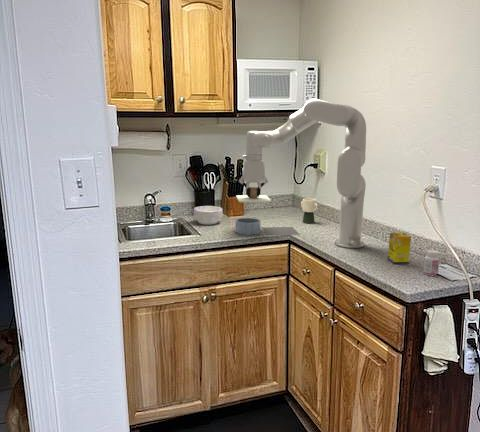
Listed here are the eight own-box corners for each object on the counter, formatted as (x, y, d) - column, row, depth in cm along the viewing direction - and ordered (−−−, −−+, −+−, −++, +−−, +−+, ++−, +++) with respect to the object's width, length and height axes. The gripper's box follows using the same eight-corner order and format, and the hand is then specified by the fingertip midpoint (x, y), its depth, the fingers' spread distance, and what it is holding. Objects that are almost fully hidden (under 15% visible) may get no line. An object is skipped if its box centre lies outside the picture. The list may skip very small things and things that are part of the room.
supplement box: (387, 259, 177) (389, 232, 174) (402, 259, 177) (404, 232, 175) (393, 264, 171) (395, 236, 169) (408, 264, 171) (411, 236, 169)
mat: (300, 235, 213) (300, 234, 212) (266, 236, 211) (266, 235, 211) (292, 228, 228) (292, 226, 228) (261, 228, 226) (261, 227, 226)
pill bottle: (433, 277, 157) (435, 254, 155) (420, 273, 160) (422, 250, 159) (440, 274, 159) (443, 251, 158) (428, 271, 163) (430, 248, 161)
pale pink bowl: (222, 226, 231) (222, 211, 229) (192, 226, 230) (192, 210, 229) (223, 220, 246) (223, 205, 244) (195, 219, 245) (194, 205, 244)
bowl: (261, 235, 212) (262, 223, 211) (236, 235, 211) (236, 223, 210) (257, 229, 224) (258, 217, 223) (233, 229, 223) (234, 218, 222)
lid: (271, 202, 208) (271, 189, 207) (239, 202, 207) (239, 189, 206) (266, 196, 223) (266, 185, 222) (236, 196, 221) (236, 185, 220)
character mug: (320, 224, 238) (322, 199, 235) (312, 226, 233) (313, 201, 230) (304, 220, 245) (305, 197, 243) (296, 222, 241) (297, 198, 238)
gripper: (237, 158, 206) (236, 197, 210) (273, 158, 208) (271, 197, 212) (235, 157, 213) (234, 195, 217) (270, 157, 215) (269, 195, 219)
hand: (253, 196), depth 214 cm, fingers closed on lid, 4 cm apart
